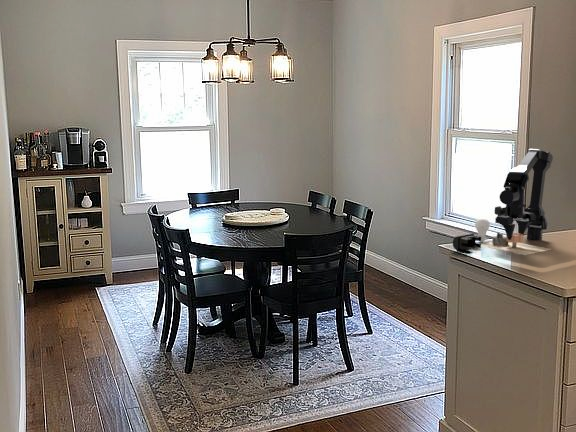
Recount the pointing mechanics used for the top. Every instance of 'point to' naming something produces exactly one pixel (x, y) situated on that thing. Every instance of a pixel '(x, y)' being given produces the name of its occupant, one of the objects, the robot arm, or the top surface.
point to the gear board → (518, 248)
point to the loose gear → (516, 238)
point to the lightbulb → (482, 227)
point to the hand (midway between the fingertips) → (514, 238)
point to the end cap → (466, 243)
